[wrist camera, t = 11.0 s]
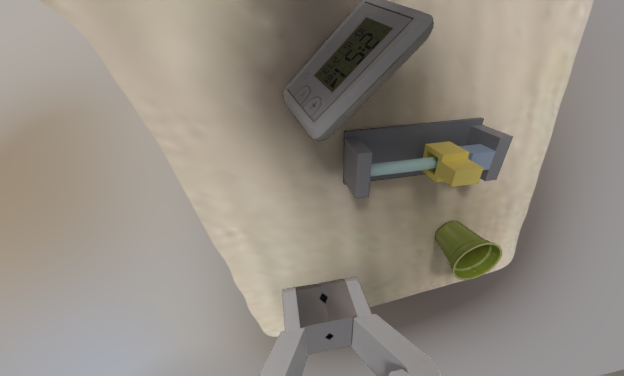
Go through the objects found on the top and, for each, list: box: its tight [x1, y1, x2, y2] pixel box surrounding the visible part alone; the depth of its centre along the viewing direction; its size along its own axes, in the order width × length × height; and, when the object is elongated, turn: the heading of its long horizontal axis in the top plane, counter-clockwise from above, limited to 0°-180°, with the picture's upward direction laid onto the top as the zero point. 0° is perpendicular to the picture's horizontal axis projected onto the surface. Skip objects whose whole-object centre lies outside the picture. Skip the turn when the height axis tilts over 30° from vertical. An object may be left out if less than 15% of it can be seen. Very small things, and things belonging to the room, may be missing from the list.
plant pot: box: [435, 221, 502, 280], centre depth 49 cm, size 9×9×9 cm
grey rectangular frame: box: [343, 118, 513, 198], centre depth 39 cm, size 23×9×6 cm, turn 93°
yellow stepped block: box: [421, 141, 483, 187], centre depth 36 cm, size 4×4×7 cm
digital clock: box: [283, 0, 434, 141], centre depth 28 cm, size 16×9×11 cm, turn 123°
